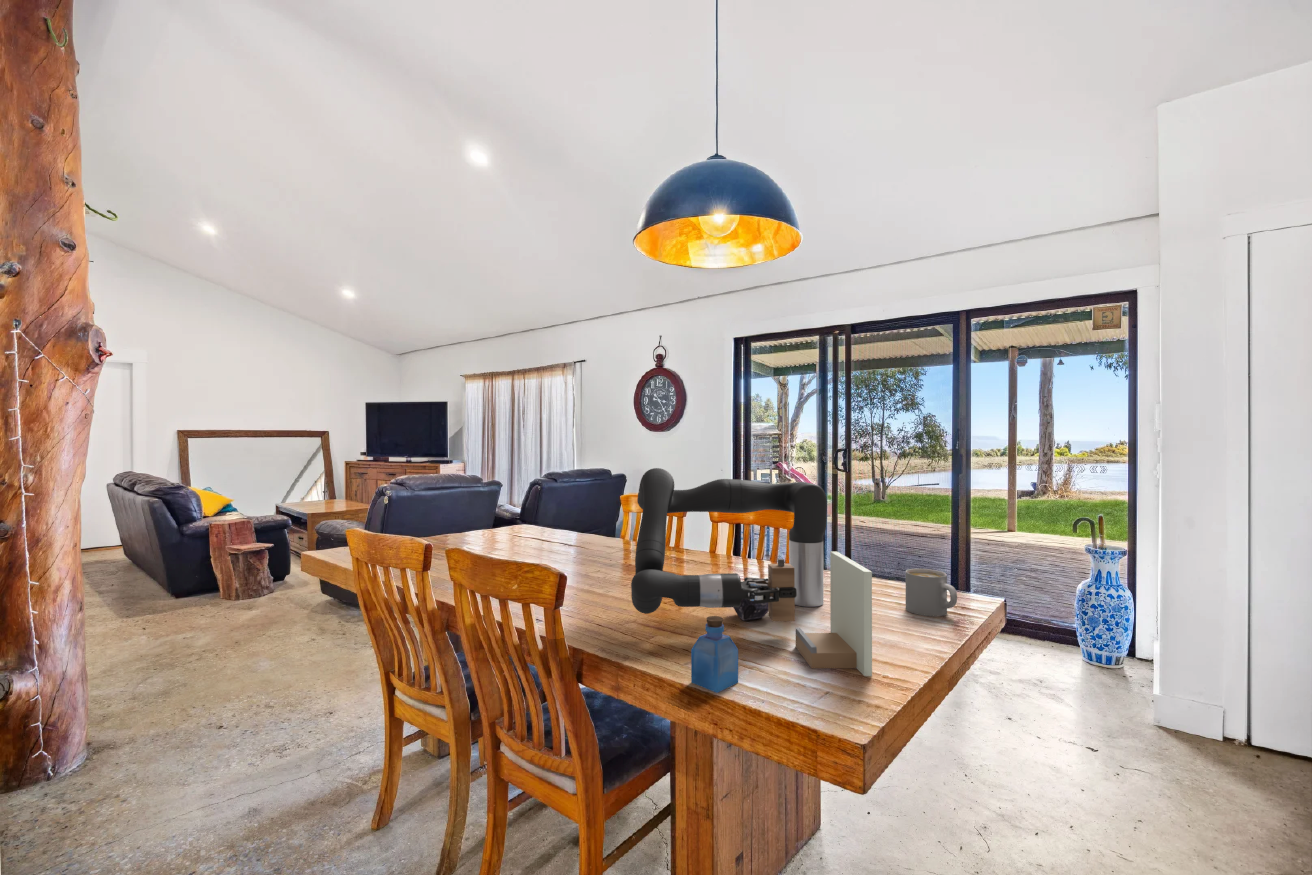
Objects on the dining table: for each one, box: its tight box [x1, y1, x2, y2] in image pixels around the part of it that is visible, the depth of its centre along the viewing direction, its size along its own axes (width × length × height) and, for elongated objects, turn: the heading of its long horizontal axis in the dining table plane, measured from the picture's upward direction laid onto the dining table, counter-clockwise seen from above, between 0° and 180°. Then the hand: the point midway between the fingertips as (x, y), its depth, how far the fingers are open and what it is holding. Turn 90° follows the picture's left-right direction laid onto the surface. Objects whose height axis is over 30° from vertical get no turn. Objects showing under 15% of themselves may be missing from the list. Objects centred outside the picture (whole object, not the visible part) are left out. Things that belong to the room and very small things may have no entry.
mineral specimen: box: [732, 583, 768, 622], centre depth 148 cm, size 10×10×10 cm
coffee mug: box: [905, 568, 958, 617], centre depth 153 cm, size 13×10×10 cm
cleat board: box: [795, 551, 873, 677], centre depth 122 cm, size 20×10×20 cm, turn 1°
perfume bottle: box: [690, 615, 739, 694], centre depth 109 cm, size 6×6×12 cm
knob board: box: [767, 558, 796, 622], centre depth 134 cm, size 4×5×14 cm
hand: (792, 589), depth 134 cm, fingers closed on knob board, 4 cm apart
